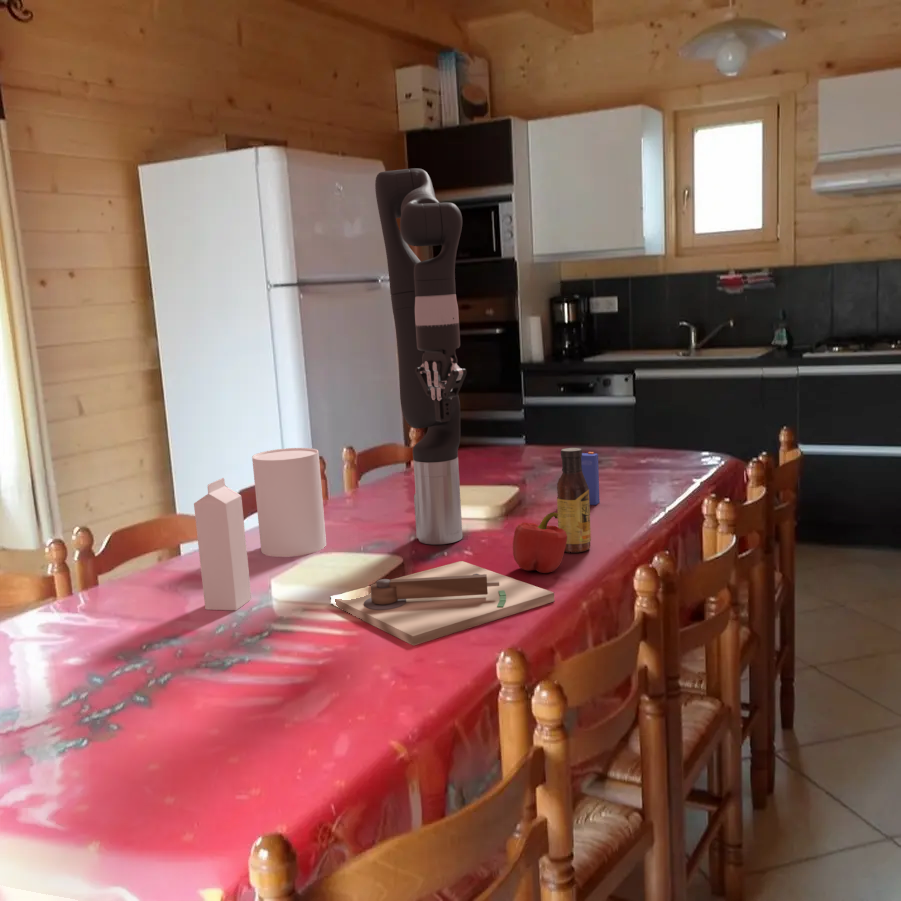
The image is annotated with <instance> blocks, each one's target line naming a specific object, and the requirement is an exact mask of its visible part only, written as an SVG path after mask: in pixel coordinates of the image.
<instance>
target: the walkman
mask: <svg viewBox="0 0 901 901" xmlns="http://www.w3.org/2000/svg"><path fill="white" fill-rule="evenodd" d="M581 465H582V472H583V475H584V478H585V480H586V483H587V485H588V488H589V502H590V506H597V505H598V504H599V503H600V502H601V501H600V500H601V499H600V474H599V473H600V472H599V471H600V470H599V453H595V452H594V451H588V452H586V453H585V452H582V457H581Z"/></svg>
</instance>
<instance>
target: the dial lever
mask: <svg viewBox="0 0 901 901" xmlns="http://www.w3.org/2000/svg"><path fill="white" fill-rule="evenodd" d="M393 579H394V580H391V579H390V578H389V579H388V578H383V579H382V578H381V579H378V580H376V582H375V583H373V584H370V585H371V600H372V602H373V603H375V604H390V603H394V602H396V601H397V600H398V599H414V598H432V597H450V596H468V595H486V594H488V592H487V587H490V586H499V581H496V582H487V575H486V574H483V575H465V576H447V577H429V578H411V579H395V578H393Z"/></svg>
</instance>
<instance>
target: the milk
mask: <svg viewBox="0 0 901 901" xmlns="http://www.w3.org/2000/svg"><path fill="white" fill-rule="evenodd" d="M225 482H226V481H225V478H224V477H222V478H220V479H218V480H216V481H213V482H211V483H209V484H207V494H206V495H204V496H203V497H201V498H199V499H198V500H197V501H195V502H194V503H193V508H194V515H195V516H194V519H195V527H196V534H197V535H196V536H197V545H198V554H199V563H200V564H199V565H200V573H201V574H200V575H201V580H202V592H203V600H204V608H205V609H204V610H207V611H208V610H209V611H210V610H211V611H212V610H213V611H238V610H239V609H241V607H243V606H244V605H246V604H247V603H249V601H251V600H252V592H251V591H252V589H251V581H250V580H251V579H250V571H249V558H248V550H247V541H246V531H245V530H246V529H245V519H244V511H243V510H244V509H243V498H242V495H241V494H239V493H238V492H236V491H234V490H233V489H231V488H230V487H228V486H226V485H225V484H226V483H225Z"/></svg>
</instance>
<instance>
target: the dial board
mask: <svg viewBox="0 0 901 901" xmlns="http://www.w3.org/2000/svg"><path fill="white" fill-rule="evenodd" d="M483 574H486V575H487V582H496V581H499V586H490V587H487V592H488V594H486V595H468V596H450V597H432V598H414V599H398V600H397V601H396V602H394V603H390V604H375V603H373V602H372V600H371V593H370V594H368V595H366V596H364V597H360V598H356V599H351V600H342V599H335V602H336V605H337V606H338V607H339V608H341V609H343V610H344V611H343V610H342V611H343V612H345V611H346V612H345V613H347V612H348V613H347V614H349V613H350V614H349V615H351V614H352V615H351V616H353V617H355V616H356V617H355V618H357V619H359V618H360V619H359V620H361V619H362V620H361V621H363V622H364V623H367V624H369V625H371V626H373V627H374V628H378V629H379V630H381V631H383V632H385V633H387V634H389V635H391V636H394V637H395V638H397V639H399V640H401V641H403V642H405V643H408V644H409V645H411V646H416V645H417V646H418V645H420V644H423V643H426V642H429V641H432V640H436V639H439V638H441V637H446V636H449V635H451V634H452V635H453V634H455V633H458V632H461V631H464V630H467V629H471V628H474V627H477V626H480V625H483V624H486V623H490V622H494V621H496V620H499V619H503V618H506V617H509V616H512V615H515V614H519V613H522V612H525V611H528V610H531V609H534V608H538V607H541V606H544V605H547V604H550V603H553V602H555V592H553V591H552V590H549V589H545V588H542V587H538V586H537V585H536V586H535V585H533V584H530V583H527V582H524V581H521V580H519V579H515V578H513V577H510V576H506V575H504V574H501V573H498V572H495V571H492V570H490V569H486V568H485V567H480V566H478V565H475V564H472V563H469V562H466V561H463V560H461V561H460V560H459V561H456V562H452V563H448V564H445V565H442V566H441V565H440V566H437V567H434V568H433V567H432V568H430V569H425V570H423V571H418V572H415V573H410V574H407V575H403V576H400V577H396V578H392V579H390V580H394V579H411V578H429V577H447V576H465V575H483ZM339 608H338V609H339ZM341 609H340V610H341Z"/></svg>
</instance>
